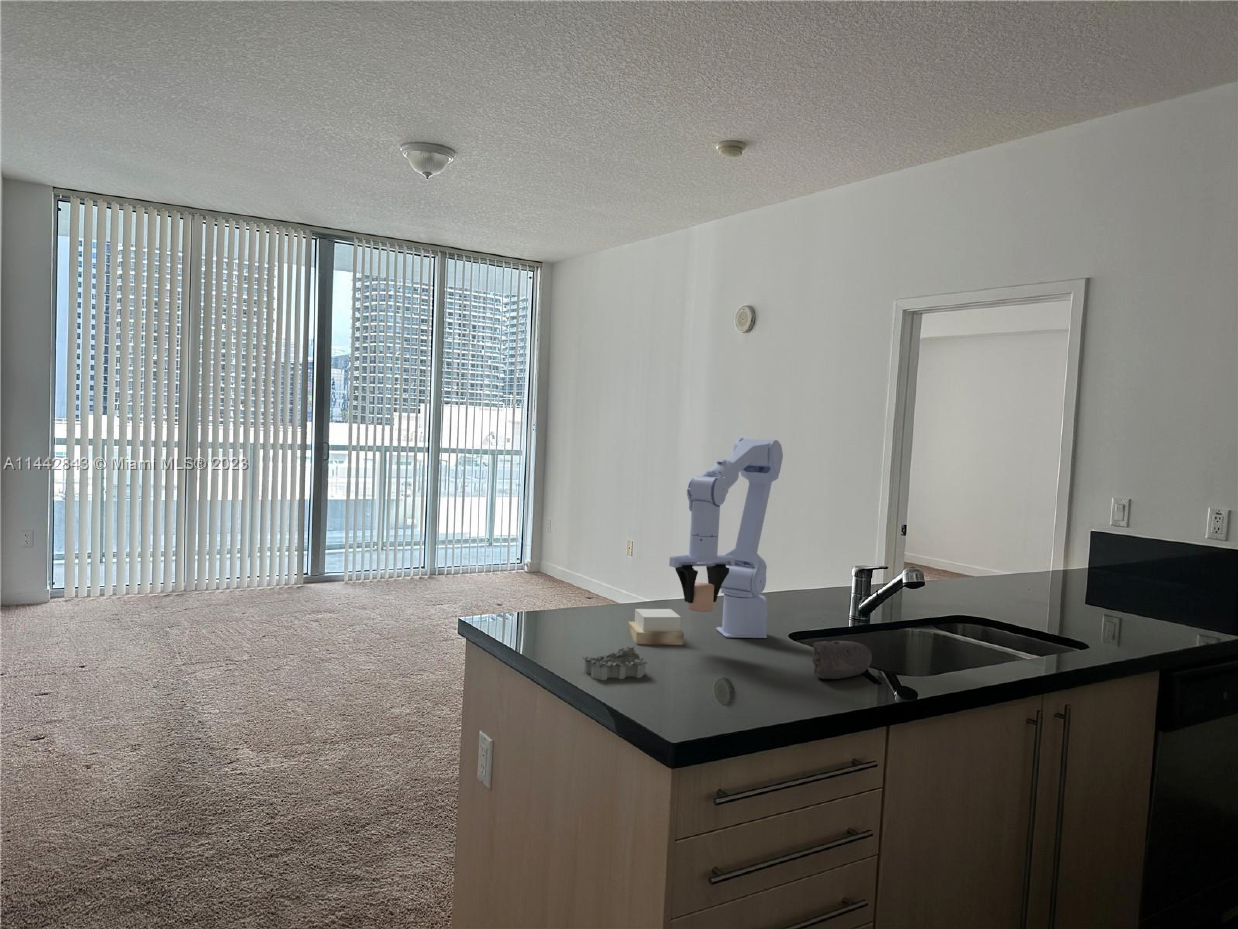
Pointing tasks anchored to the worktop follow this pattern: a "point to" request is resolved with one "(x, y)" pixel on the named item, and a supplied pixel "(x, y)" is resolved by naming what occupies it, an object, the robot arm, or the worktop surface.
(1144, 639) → the worktop surface
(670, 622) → the tower top
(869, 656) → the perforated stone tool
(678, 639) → the tower base
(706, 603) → the cylinder
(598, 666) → the grey carved stone fragment
